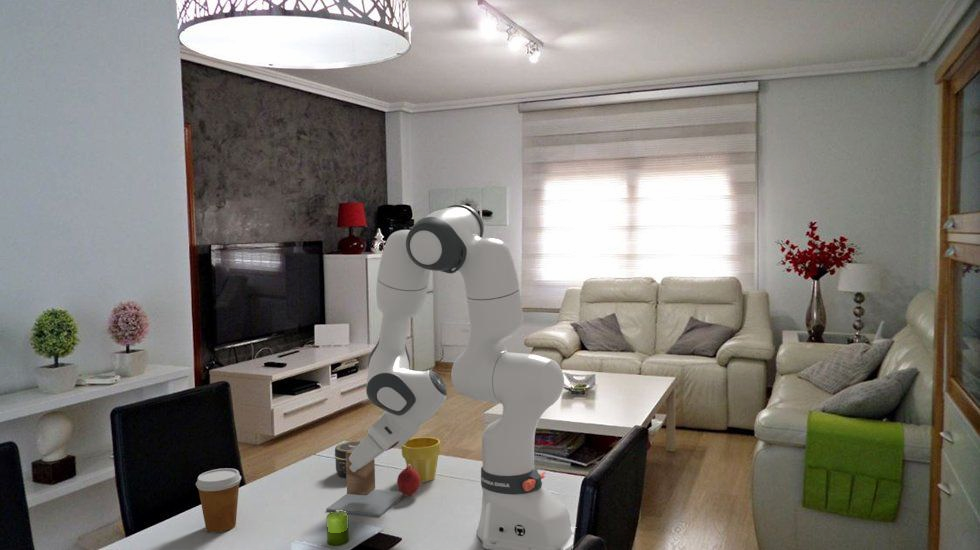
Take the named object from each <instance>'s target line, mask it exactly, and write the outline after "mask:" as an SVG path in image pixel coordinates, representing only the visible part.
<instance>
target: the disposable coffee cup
mask: <svg viewBox="0 0 980 550" xmlns="http://www.w3.org/2000/svg"><path fill="white" fill-rule="evenodd" d="M196 480H197V481H196V482H195V486H196V488H197V489H198V494H199V499H200V500H199V501H200V503H201V511H202V514H203V521H204V525H205V530H207V531H206V532H208V531H210V532H209V533H211V532H219V533H223V532H222V531H224V532H227V531H226V530H228V531H230V530H232V529H233V527H234V528H235V527H236V526H237V514H238V501H239V490H240V483H241V480H242V475H240V471H239V470H238V469H236V468H231V467H230V468H226V467H225V468H217V469H216V468H215V469H211V470H208V471H205V472H202V473H201V474H199V475H198V477H197V479H196ZM235 525H236V526H235ZM229 529H230V530H229Z"/></svg>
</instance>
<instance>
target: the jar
mask: <svg viewBox="0 0 980 550" xmlns="http://www.w3.org/2000/svg"><path fill="white" fill-rule="evenodd" d="M361 441H362V440H354V441H353V440H351V441H346V442H342V443H339V444H337V445H336V446H335V448H334V458H335V471H336V474H337V475H338V477H340V478H342V479H347V478H346V452H347V451H349V450H350V449H352V448H354V447H355V446H356V447H357V446H358V445H359V443H360V442H361Z"/></svg>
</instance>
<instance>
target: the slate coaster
mask: <svg viewBox="0 0 980 550" xmlns="http://www.w3.org/2000/svg"><path fill="white" fill-rule="evenodd" d="M404 496H405V495H404V494H403V493H402V492H401V491H395V490H386V489H376V488H375V489H374V490H373V491H371V492H370V493H369V494H368V495H366V496H365V495H353V494H347V493H346V494H344V495H343V496H341V497H340V498H339V499H337V500H336V501H334V502H333V503H332V504H331V505H329V506H328V507H327V508H325V509H326V512H331V511H336V510H343V511H346V512H348V513H347V514H348V515H349V514H352V515H358V516H361V515H362V516H370V517H379V518H380V517H382V516H383V515H384V514H385V513H386V512H387V511H388V510H390V509H391V508H392V507H393V506H394V505H395V504H397V503H398V502H399V501H400V500H401V499H402V498H403V497H404Z"/></svg>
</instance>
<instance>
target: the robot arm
mask: <svg viewBox="0 0 980 550" xmlns="http://www.w3.org/2000/svg"><path fill="white" fill-rule="evenodd" d="M484 228H485V227H484V221H483V219H482V217H481V215H480V214H479V213H478V211H477V210H475V209H474V208H472V207H471V206H468V205H465V204H453V205H449V206H447V207H446V208H442V209H437V210H435V211H433V212H431V213H429V214H427V215H426V216H425V217H422V218H421V219H419V220H418V221H416V222H415V223H414V224H413V225H412V226H411V228H410V229H399V230H396V231H394V232H392V233H391V234H390V235H389V236H388V238H387V240H386V242H385V245H384V247H383V250H382V254H381V257H380V261H379V265H378V266H379V267H378V270H377V271H378V272H377V277H376V289H375V291H376V306H377V308H378V309H379V311H380V312H381V313H382V321H381V325H380V333H379V338H378V341H377V343H376V345H375V346H374V347H373V349H371V352H370V353H369V356H368V361H367V366H368V367H367V378H366V386H365V387H366V389H365V390H366V391H365V392H366V397H367V398H368V399H369V401H370V403H372V405H375V406H376V407H377V408H380V409H381V410H383V412H382V414H380V416H379V417H378V418H377V419H376V420H375V422H374V423H373V424H372V425H371V426H370V427H369V428H368V429H367V434H366V435H365V436H364V437H363V439H361V440H360V441H361V442H360V443H359V445H358V446H357V447H356V448H355V450H354V451H353V452H352V453H351V455H350V457H349V460H350V462H351V463H352V464H351V466H350V467H349V468H350V470H351V471H352V472H356V471H357V470H358V469H361V468H362V467H363V466H365V465H366V464H367V463H369V462H370V461H372V460H373V459H374V460H376V458H378V457H379V456H380V455H382V454H383V453H384V452H387V451H390V450H391V449H395V448H397V447H402V446H403V445H405V443H406V442H407V441H408V440H409V439H411V438H413V436H414V435H416V433H417V432H418V431H419V430H420V427H421V426H422V425H424V424H425V422H428V421H429V420H430V419H431V418H432V417H433V416H434V415H435V414H436V413H437V411H438V410H439V409H440V408H441V407H442V405H443V404H444V402H445V400H447V395H448V393H447V387H446V385H445V383H444V380H443V378H441V377H440V375H439V374H438V373H437V372H435V371H434V370H431V369H428V370H412V369H410V367H411V365H410V364H411V358H410V355H409V351H408V348H407V345H406V343H407V336H408V330H409V324H410V320H411V318H414V317H416V316H417V315H418V314H419V313H421V312H422V311H421V310H422V309H423V306H424V305H425V300H426V297H427V293H428V291H429V290H428V289H429V288H428V287H429V283H430V276H431V271H434V272H435V271H437V272H442V273H446V274H450V275H451V274H455V273H457V272H459V273H460V274H461V276H462V279H463V284H464V288H465V289H464V290H465V296H466V302H467V309H468V310H467V311H468V314H469V315H468V316H469V317H468V318H469V325H470V326H469V328H470V329H469V339H468V343H467V346H466V348H465V349H464V350H463V352H462V353H461V354H459V356H457V357H456V359H455V360H454V362H453V365H452V367H451V371H450V372H451V373H450V374H451V376H450V378H451V383H452V385H453V388H454V390H455V392H457V394H459V395H461V396H463V397H466V398H468V399H471V400H474V401H478V402H485V403H493V404H501V405H502V415H501V418H498V419H496V420H494V421H493V422H491V423H489V424H488V425H487V426H486V427H485V429H484V431H483V432H482V435H481V436H482V437H481V443H482V444H481V450H482V453H481V455H482V466H481V468H480V486H481V490H482V502H481V511H480V515H479V516H480V518H479V521H478V526H477V529H476V534H477V537H478V538H479V539H480V540H481V542H482V543H481V544H482V547H483V548H484V549H486V550H571V549H572V546H573V538H574V528H576V527H575V526H573V525H572V524H571V517H570V514H569V513H570V512H569V510H568V507H567V506H566V505H565V504H564V503H563V502H561V501H560V500H559V499H558V498H557V497H555V496H554V494H552V493H551V492H550V491H549V490H548V489H547V488H546V487H545V486H544V485H543V481H542V479H545V477H546V475H545V474H546V471H543V472H542V473H539V471H538V469H537V467H536V465H535V436H536V432H537V427H538V424H539V421H540V419H541V417H542V416H543V414H544V413H545V412H546V411H547V410H548V409H549V408H550V407H551V406H553V405H554V404H556V402H558V400H559V399H560V397H561V396H562V393H563V390H564V386H565V377H564V372H563V369H562V368H561V365H560V364H559V363H558V362H557V361H556V360H554V359H552V358H549V357H546V356H543V355H538V354H536V353H523V352H521V353H519V352H510V351H508V350H507V345H506V342H507V340H509V339H510V338H511V337H513V336H515V335H516V334H517V333H518V332H520V330H521V328H522V327H523V324H524V311H523V306H522V304H523V303H522V297H521V290H520V284H519V279H518V274H517V273H518V272H517V269H516V267H515V263H514V259H513V256H512V253H511V251H510V248H509V246H508V244H506V242H505V241H503V240H501V239H499V238H493V237H483V236H484V231H485V230H484ZM572 550H573V549H572Z"/></svg>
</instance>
